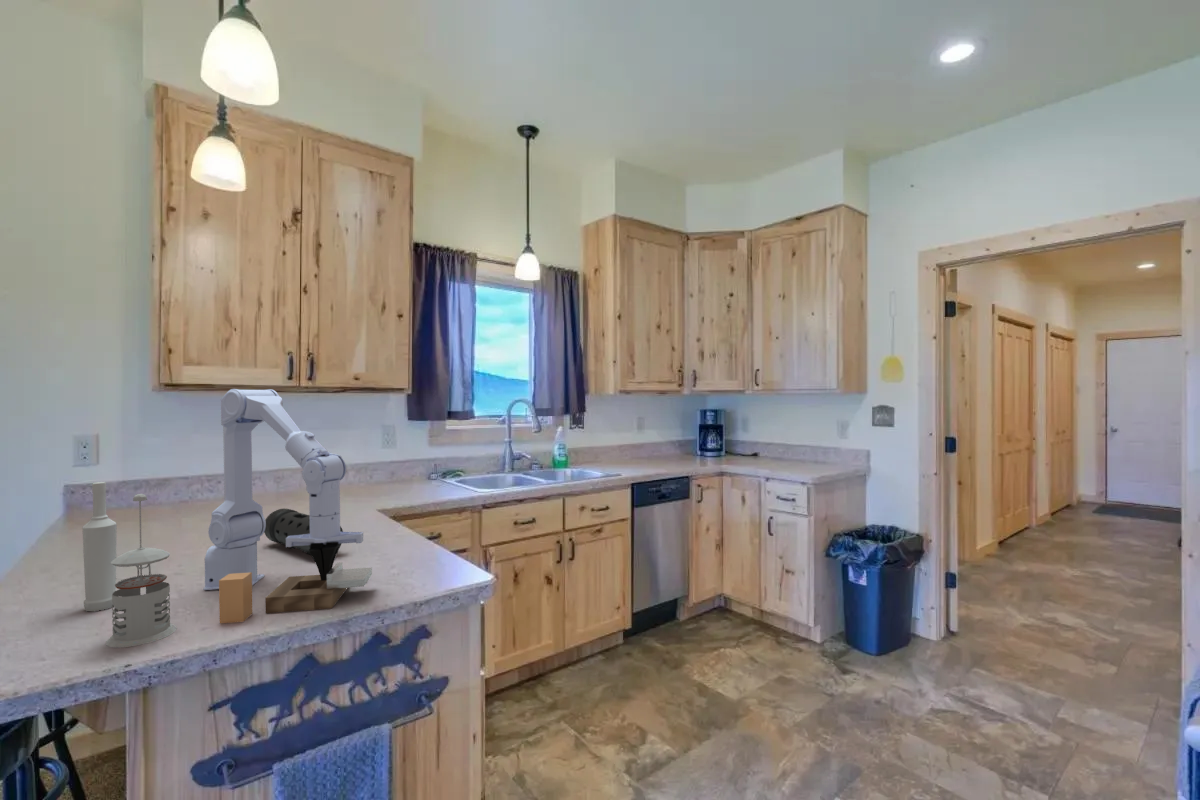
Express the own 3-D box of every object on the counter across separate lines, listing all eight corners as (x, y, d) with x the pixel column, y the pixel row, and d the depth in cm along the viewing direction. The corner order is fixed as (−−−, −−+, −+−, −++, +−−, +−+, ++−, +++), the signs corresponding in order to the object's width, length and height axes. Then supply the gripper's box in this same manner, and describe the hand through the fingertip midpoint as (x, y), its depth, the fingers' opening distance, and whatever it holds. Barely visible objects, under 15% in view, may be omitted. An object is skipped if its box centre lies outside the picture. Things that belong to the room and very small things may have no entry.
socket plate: (265, 613, 109) (265, 597, 109) (289, 590, 121) (289, 576, 121) (331, 608, 111) (331, 593, 111) (348, 586, 124) (348, 572, 124)
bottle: (115, 600, 116) (113, 480, 116) (120, 606, 113) (118, 482, 113) (81, 608, 112) (79, 483, 112) (86, 614, 109) (84, 485, 109)
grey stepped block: (326, 589, 113) (326, 574, 113) (337, 576, 121) (337, 562, 121) (363, 586, 114) (363, 571, 114) (372, 574, 122) (371, 560, 122)
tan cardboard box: (219, 623, 104) (219, 580, 104) (229, 615, 108) (229, 573, 108) (243, 621, 105) (242, 578, 105) (252, 613, 109) (251, 572, 109)
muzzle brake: (308, 564, 141) (307, 523, 141) (260, 547, 158) (259, 510, 158) (345, 555, 148) (344, 516, 148) (295, 540, 165) (295, 505, 165)
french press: (101, 652, 92) (99, 501, 92) (110, 629, 102) (107, 491, 102) (176, 637, 98) (174, 494, 98) (177, 616, 108) (175, 486, 107)
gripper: (279, 519, 111) (280, 587, 111) (357, 516, 114) (358, 582, 114) (292, 512, 118) (293, 576, 118) (365, 509, 121) (366, 572, 121)
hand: (325, 579), depth 117 cm, fingers closed
